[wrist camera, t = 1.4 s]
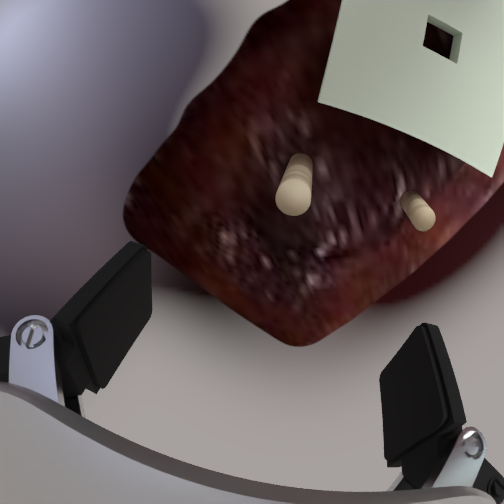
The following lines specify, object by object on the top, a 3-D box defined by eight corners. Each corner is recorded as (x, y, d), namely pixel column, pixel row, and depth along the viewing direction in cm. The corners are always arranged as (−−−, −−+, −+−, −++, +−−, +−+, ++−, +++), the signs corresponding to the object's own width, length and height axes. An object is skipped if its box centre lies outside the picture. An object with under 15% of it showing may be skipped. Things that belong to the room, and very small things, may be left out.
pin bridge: (352, -51, 15) (357, -76, 10) (496, 18, 13) (523, 11, 8) (317, 101, 26) (318, 102, 20) (465, 161, 24) (491, 177, 19)
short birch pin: (405, 187, 28) (418, 203, 24) (423, 194, 28) (439, 212, 23) (397, 207, 29) (408, 226, 25) (415, 214, 29) (428, 234, 25)
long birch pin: (292, 149, 29) (280, 178, 19) (315, 156, 29) (315, 188, 19) (286, 171, 30) (271, 210, 21) (309, 178, 30) (305, 219, 21)
